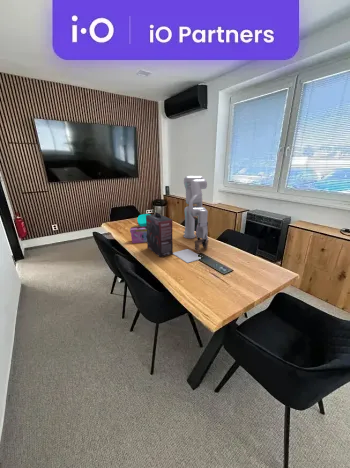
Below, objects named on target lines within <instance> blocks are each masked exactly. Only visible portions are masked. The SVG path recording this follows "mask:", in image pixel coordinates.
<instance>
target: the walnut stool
mask: <svg viewBox="0 0 350 468" xmlns="http://www.w3.org/2000/svg"><path fill="white" fill-rule="evenodd" d="M204 240H205V239H204ZM202 242H203V239H202V238H200V239H199V240H197V239H195V240H194V242H193V243H194V251H196V252H200V245H201V246H202ZM208 243H209V239H208V240H207V241H206V243H205V246H202V248H203V249H205V250H208Z"/></svg>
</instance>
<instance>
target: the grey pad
mask: <svg viewBox="0 0 350 468" xmlns="http://www.w3.org/2000/svg"><path fill="white" fill-rule="evenodd" d="M172 255H174V256H175V257H177V258H179V260H182V261H183V262H185V263H186V264H190V263H193V262H196V261H200V260H202V259H201V257H198V255H199V254H198V253H196V252H194V251H193V250H191V249H188V248H185V249H182V250H178V251H174V252H173V254H172ZM199 259H200V260H199Z"/></svg>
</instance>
